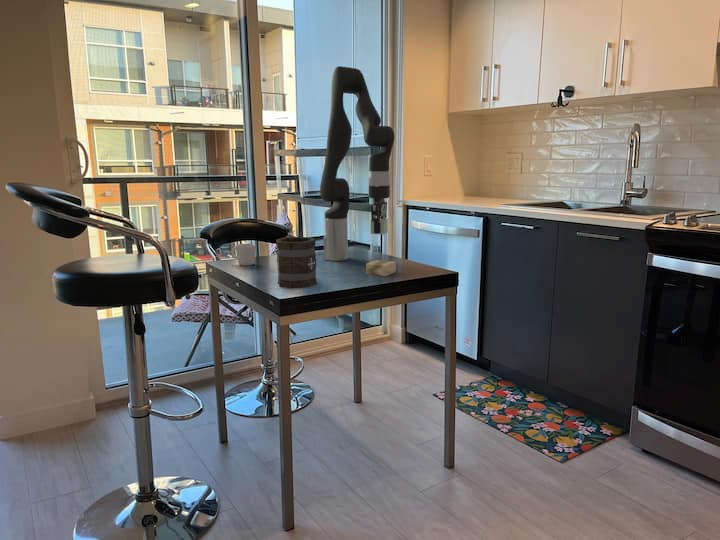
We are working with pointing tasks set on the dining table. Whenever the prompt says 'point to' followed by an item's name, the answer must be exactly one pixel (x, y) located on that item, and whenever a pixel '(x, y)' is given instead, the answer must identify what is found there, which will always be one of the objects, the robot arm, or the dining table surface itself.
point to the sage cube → (382, 227)
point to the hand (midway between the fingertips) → (379, 231)
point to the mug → (296, 262)
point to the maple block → (381, 267)
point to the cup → (245, 254)
